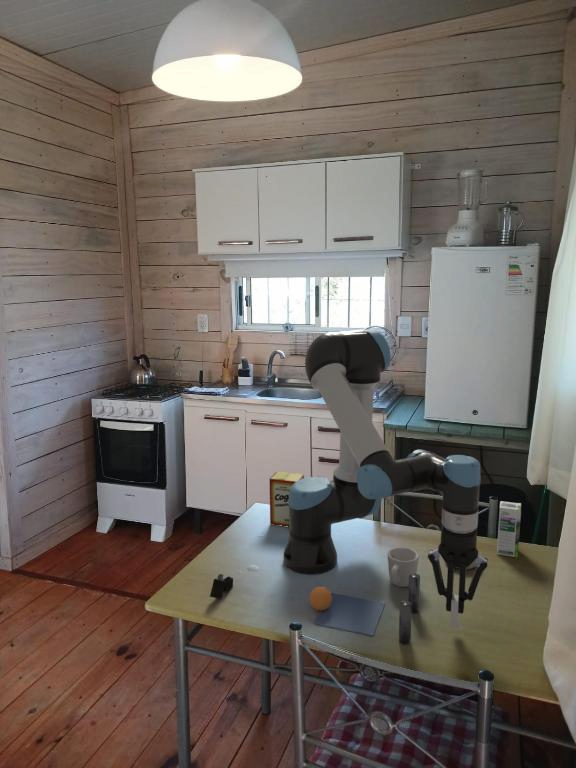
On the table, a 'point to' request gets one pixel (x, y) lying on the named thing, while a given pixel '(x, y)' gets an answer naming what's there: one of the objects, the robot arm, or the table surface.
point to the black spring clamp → (221, 586)
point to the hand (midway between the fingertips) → (454, 624)
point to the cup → (402, 565)
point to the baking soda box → (281, 496)
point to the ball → (320, 598)
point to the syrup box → (509, 529)
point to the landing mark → (351, 614)
